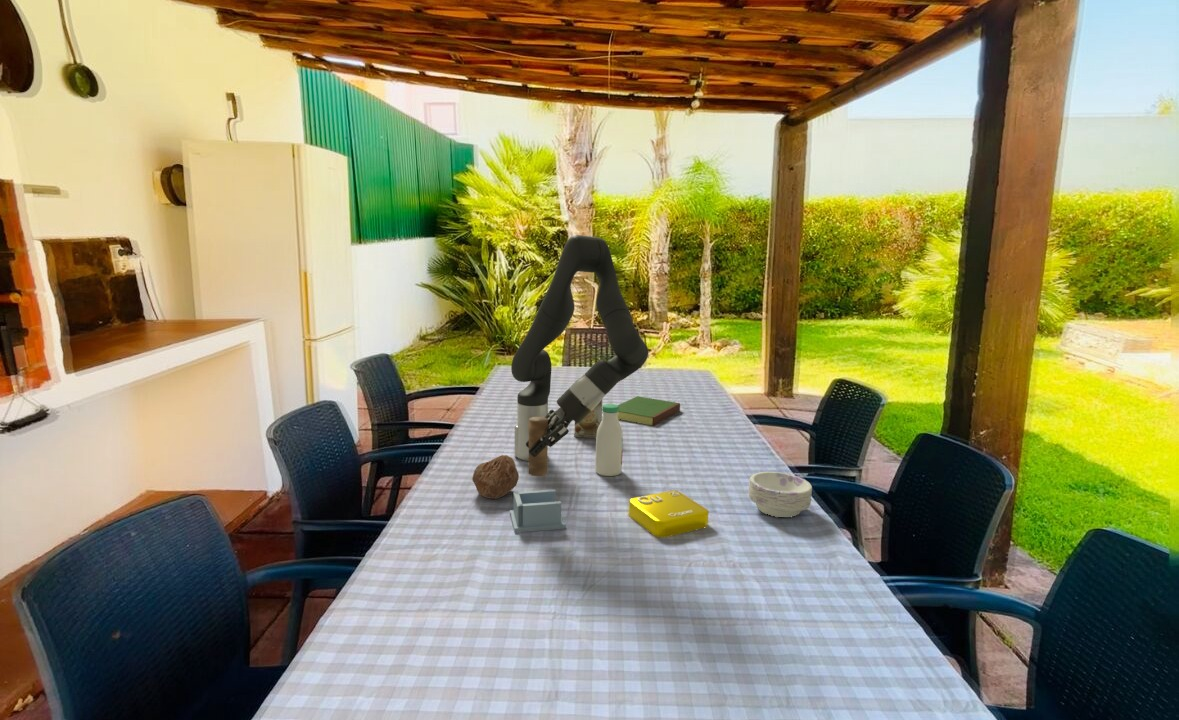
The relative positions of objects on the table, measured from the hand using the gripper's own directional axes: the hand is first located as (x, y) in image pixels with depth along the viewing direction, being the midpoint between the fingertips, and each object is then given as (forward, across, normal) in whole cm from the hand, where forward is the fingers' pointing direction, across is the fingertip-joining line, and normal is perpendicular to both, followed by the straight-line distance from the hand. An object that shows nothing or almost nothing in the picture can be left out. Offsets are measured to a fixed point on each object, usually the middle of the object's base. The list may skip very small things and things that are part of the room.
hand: (529, 450), depth 150 cm
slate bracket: (+11, 0, +14) cm, 18 cm away
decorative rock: (+17, -18, +8) cm, 27 cm away
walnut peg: (+3, 0, +5) cm, 6 cm away
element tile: (-10, +5, +37) cm, 38 cm away
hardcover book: (-27, -86, +53) cm, 105 cm away
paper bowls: (-32, +5, +57) cm, 66 cm away
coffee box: (-8, -64, +33) cm, 72 cm away
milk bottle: (-6, -28, +32) cm, 43 cm away
